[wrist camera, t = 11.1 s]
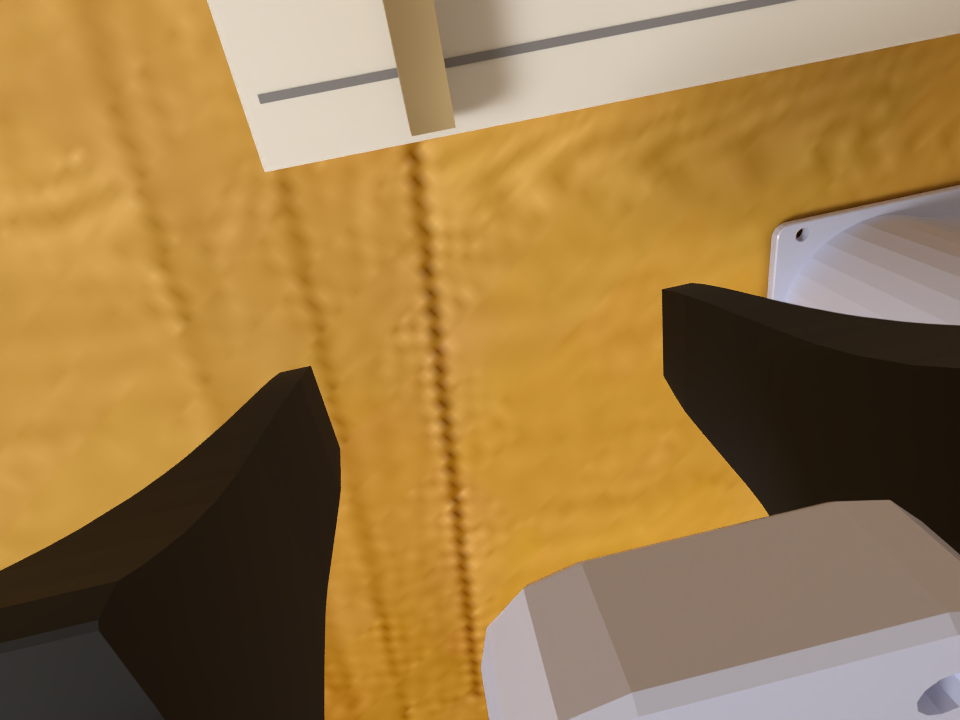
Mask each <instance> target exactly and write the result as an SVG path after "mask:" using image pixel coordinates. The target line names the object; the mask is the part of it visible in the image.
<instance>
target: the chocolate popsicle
mask: <svg viewBox="0 0 960 720" xmlns="http://www.w3.org/2000/svg"><path fill="white" fill-rule="evenodd" d="M382 1H383V6H384V11H385V15H386V20H387V25H388V29H389V34H390V39H391V44H392V48H393V53H394V58H395V62H396V67H397V72H398V76H399V81H400V86H401V91H402V95H403V100H404V105H405V109H406V114H407V119H408V123H409V128H410V132H411V135H412V136H416V135H421V134H426V133H431V132H436V131H441V130H446V129H451V128H456V125H455V120H454V114H453V108H452V103H451V97H450V91H449V86H448V80H447V74H446V69H445V63H444V58H443V52H442V46H441V41H440V35H439V29H438V24H437V18H436V12H435V7H434V1H433V0H382Z"/></svg>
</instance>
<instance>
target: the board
mask: <svg viewBox="0 0 960 720" xmlns="http://www.w3.org/2000/svg"><path fill="white" fill-rule="evenodd" d="M433 1H434V7H435V12H436V18H437V24H438V29H439V35H440V41H441V46H442V52H443V58H444V63H445V69H446V74H447V80H448V86H449V91H450V97H451V103H452V108H453V114H454V120H455V125H456V128H451V129H446V130H441V131H436V132H431V133H426V134H421V135H416V136H412V135H411V132H410V128H409V123H408V119H407V114H406V109H405V105H404V100H403V95H402V91H401V86H400V81H399V76H398V72H397V67H396V62H395V58H394V53H393V48H392V44H391V39H390V34H389V29H388V25H387V20H386V15H385V11H384V6H383V1H382V0H207V2H208V5H209V8H210V11H211V14H212V17H213V20H214V23H215V26H216V29H217V31H218V34H219V37H220V40H221V43H222V46H223V49H224V52H225V55H226V58H227V61H228V64H229V67H230V70H231V73H232V76H233V79H234V82H235V85H236V88H237V91H238V94H239V97H240V100H241V103H242V106H243V109H244V112H245V115H246V118H247V121H248V124H249V127H250V130H251V133H252V136H253V139H254V142H255V145H256V148H257V151H258V154H259V157H260V160H261V162H262V165H263V168H264V171H265V172H268V171H273V170H278V169H283V168H288V167H293V166H298V165H303V164H308V163H313V162H318V161H323V160H328V159H333V158H338V157H343V156H348V155H353V154H358V153H363V152H368V151H373V150H378V149H383V148H388V147H393V146H398V145H403V144H408V143H413V142H418V141H423V140H428V139H433V138H438V137H443V136H448V135H453V134H458V133H463V132H468V131H473V130H478V129H483V128H488V127H493V126H498V125H503V124H508V123H513V122H518V121H523V120H528V119H533V118H538V117H543V116H548V115H553V114H558V113H563V112H568V111H573V110H578V109H583V108H588V107H593V106H598V105H603V104H608V103H613V102H618V101H623V100H628V99H633V98H638V97H643V96H648V95H653V94H658V93H663V92H668V91H673V90H678V89H683V88H688V87H693V86H698V85H703V84H708V83H713V82H718V81H723V80H728V79H733V78H738V77H743V76H748V75H753V74H758V73H763V72H768V71H773V70H778V69H783V68H788V67H793V66H798V65H803V64H808V63H813V62H818V61H823V60H829V59H834V58H839V57H844V56H849V55H854V54H859V53H864V52H869V51H874V50H879V49H884V48H889V47H894V46H899V45H904V44H909V43H914V42H919V41H924V40H929V39H934V38H939V37H944V36H949V35H954V34H959V33H960V0H433Z"/></svg>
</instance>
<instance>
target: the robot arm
mask: <svg viewBox="0 0 960 720" xmlns="http://www.w3.org/2000/svg"><path fill="white" fill-rule="evenodd" d="M800 229H803V231H802V234H801V235H800V236H799V237H798V238H796V234H797V232H798V231H799V230H800ZM662 315H663V372H664V377H665V379H666V381H667V382H668V384H669V386H670V388H671V389H672V391H673V393H674V395H675V396H676V398H677V399H678V401H679V403H680V404H681V406H682V407H683V409H684V411H685V412H686V413H687V414H688V416H689V417H690V418H691V419H692V421H693V422H694V423H695V424H696V425H697V427H698V428H699V429H700V430H701V431H702V433H703V434H704V435H705V436H706V437H707V439H708V440H709V441H710V442H711V443H712V445H713V446H714V447H715V448H716V449H717V450H718V452H719V453H720V454H721V455H722V456H723V457H724V459H725V460H726V461H727V462H728V463H729V465H730V466H731V467H732V468H733V469H734V470H735V472H736V473H737V474H738V475H739V476H740V477H741V479H742V480H743V481H744V482H745V483H746V485H747V486H748V487H749V488H750V490H751V491H752V492H753V493H754V495H755V496H756V497H757V499H758V500H759V501H760V502H761V504H762V505H763V507H764V508H765V510H766V511H767V513H768V514H769V516H768V517H764V518H760V519H755V520H751V521H747V522H743V523H739V524H735V525H730V526H726V527H722V528H718V529H714V530H710V531H705V532H701V533H697V534H693V535H689V536H685V537H681V538H676V539H672V540H668V541H664V542H660V543H656V544H651V545H647V546H643V547H639V548H635V549H631V550H627V551H622V552H618V553H614V554H610V555H606V556H602V557H597V558H593V559H589V560H585V561H581V562H577V563H575V564H573V565H571V566H568V567H566V568H564V569H562V570H559V571H557V572H555V573H553V574H550V575H548V576H546V577H544V578H541V579H539V580H537V581H535V582H532V583H530V584H528V585H527V586H526V587H524V588H523V589H522V590H521V591H520V593H519V594H518V595H517V596H516V597H515V598H514V599H513V600H512V601H511V602H510V603H509V604H508V606H507V607H506V608H505V609H504V610H503V611H502V612H501V613H500V614H499V615H498V616H497V617H496V619H495V620H494V621H493V622H492V623H491V624H490V625H489V626H488V627H487V629H486V636H485V643H484V650H483V657H482V664H481V671H482V678H483V684H484V690H485V696H486V702H487V709H488V715H489V720H960V185H957V186H952V187H947V188H943V189H938V190H933V191H929V192H924V193H919V194H915V195H910V196H905V197H901V198H896V199H891V200H887V201H882V202H877V203H873V204H868V205H863V206H859V207H854V208H849V209H845V210H840V211H835V212H831V213H826V214H821V215H817V216H812V217H807V218H803V219H798V220H793V221H789V222H785V223H782V224H780V225H779V226H778V227H777V228H776V229H775V230H774V232H773V235H772V241H771V254H770V267H769V280H768V293H767V298H764V297H760V296H756V295H751V294H747V293H743V292H739V291H734V290H730V289H726V288H721V287H716V286H711V285H705V284H696V283H689V284H685V285H680V286H676V287H671V288H666V289H662ZM340 491H341V466H340V447H339V444H338V441H337V439H336V436H335V433H334V430H333V427H332V425H331V422H330V419H329V416H328V413H327V410H326V408H325V405H324V402H323V399H322V396H321V393H320V391H319V388H318V385H317V382H316V379H315V377H314V374H313V371H312V368H311V366H308V367H304V368H299V369H294V370H290V371H285V372H281V373H279V374H278V375H276V376H275V377H273V378H272V379H271V380H270V381H269V382H268V383H267V384H265V385H264V386H263V387H262V388H261V389H260V390H259V391H258V392H257V393H256V394H255V395H254V396H253V397H252V398H251V399H250V400H249V401H248V402H247V403H245V404H244V405H243V406H242V407H241V408H240V409H239V410H238V411H237V412H236V413H235V414H234V415H233V416H232V417H231V418H230V419H229V420H228V421H227V422H226V423H224V424H223V425H222V426H221V427H220V428H219V429H218V430H217V431H215V432H214V433H213V434H212V435H211V436H210V437H209V438H207V439H206V440H205V441H204V442H203V443H202V444H201V445H199V446H198V447H197V448H196V449H195V450H194V451H192V452H191V453H190V454H189V455H188V456H187V457H185V458H184V459H183V460H182V461H180V462H179V463H178V464H177V465H175V466H174V467H173V468H171V469H170V470H169V471H167V472H166V473H165V474H163V475H162V476H161V477H159V478H158V479H156V480H155V481H154V482H152V483H151V484H150V485H148V486H147V487H145V488H144V489H143V490H141V491H140V492H138V493H137V494H135V495H134V496H132V497H131V498H129V499H127V500H126V501H124V502H123V503H121V504H119V505H118V506H116V507H115V508H113V509H111V510H110V511H108V512H106V513H105V514H103V515H102V516H100V517H98V518H97V519H95V520H94V521H92V522H90V523H89V524H87V525H86V526H84V527H82V528H81V529H79V530H77V531H75V532H74V533H72V534H70V535H68V536H66V537H64V538H63V539H61V540H59V541H57V542H55V543H54V544H52V545H50V546H48V547H46V548H44V549H42V550H40V551H38V552H36V553H35V554H33V555H31V556H29V557H27V558H25V559H23V560H21V561H19V562H17V563H15V564H13V565H11V566H9V567H7V568H5V569H3V570H1V571H0V720H324V654H325V612H326V599H327V588H328V580H329V573H330V566H331V559H332V551H333V544H334V537H335V530H336V523H337V515H338V508H339V500H340Z"/></svg>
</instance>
